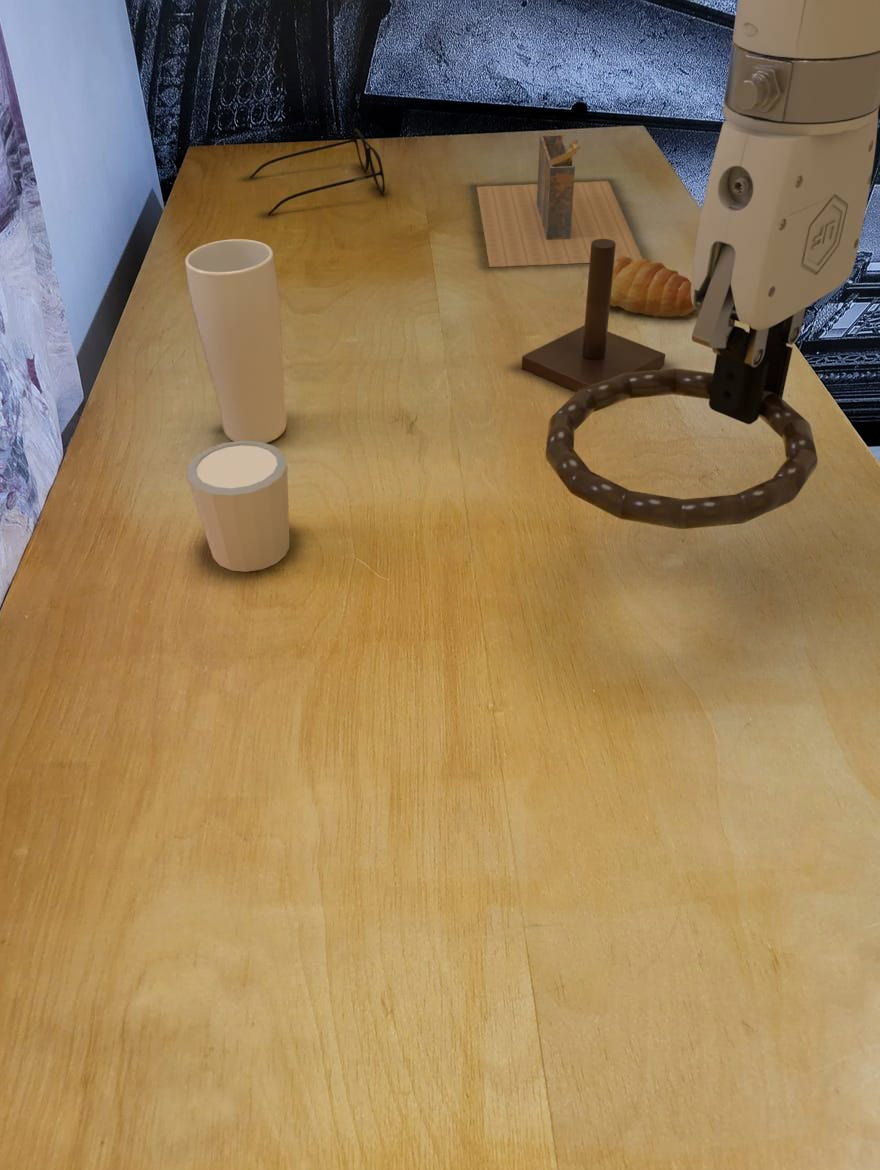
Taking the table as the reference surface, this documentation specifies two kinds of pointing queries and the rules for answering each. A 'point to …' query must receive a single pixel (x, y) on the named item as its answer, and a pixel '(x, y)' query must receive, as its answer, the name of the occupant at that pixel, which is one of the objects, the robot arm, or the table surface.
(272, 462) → the beige short cylinder
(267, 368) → the drinking glass
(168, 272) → the table surface
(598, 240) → the post
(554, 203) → the architectural model on board
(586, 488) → the ring
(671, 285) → the pastry
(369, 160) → the glasses
